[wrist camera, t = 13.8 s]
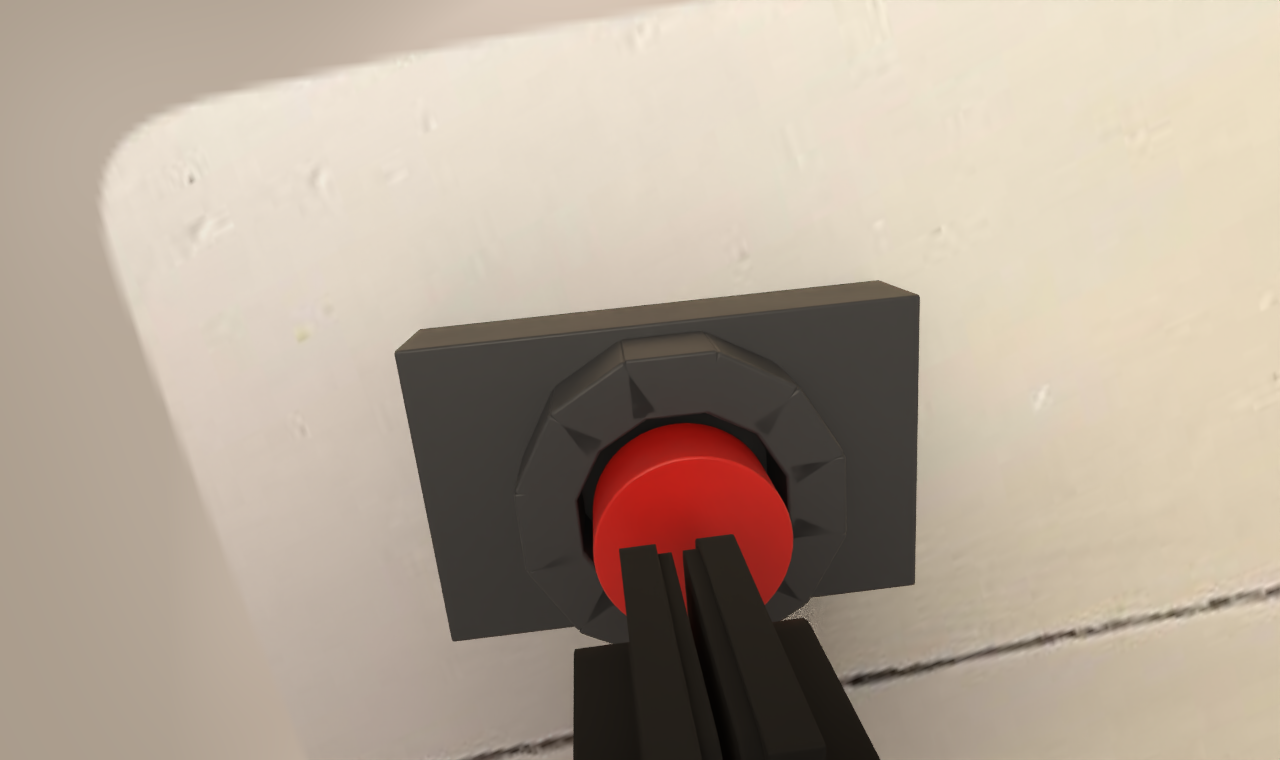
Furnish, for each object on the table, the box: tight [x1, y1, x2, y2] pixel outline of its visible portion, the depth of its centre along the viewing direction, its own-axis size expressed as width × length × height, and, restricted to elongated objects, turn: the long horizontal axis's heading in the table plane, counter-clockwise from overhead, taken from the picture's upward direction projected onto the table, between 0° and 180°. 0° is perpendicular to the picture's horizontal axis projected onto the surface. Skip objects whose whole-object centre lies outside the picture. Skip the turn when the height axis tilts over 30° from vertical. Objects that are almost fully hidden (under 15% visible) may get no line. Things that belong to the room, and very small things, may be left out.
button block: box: [395, 280, 920, 644], centre depth 16 cm, size 11×7×4 cm, turn 95°
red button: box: [593, 423, 793, 615], centre depth 13 cm, size 4×4×2 cm
